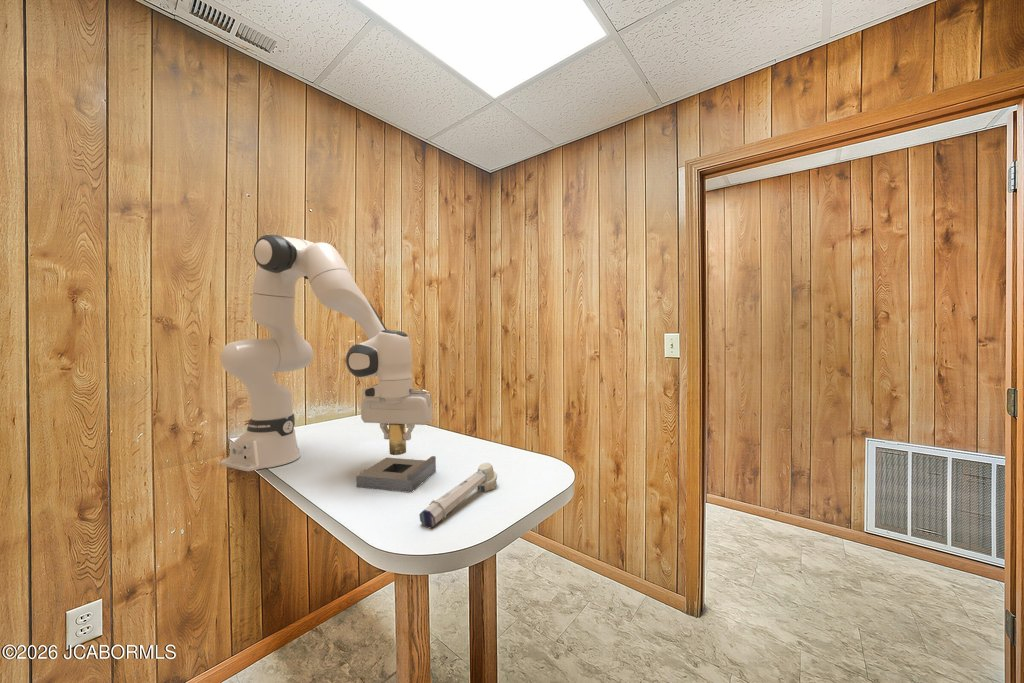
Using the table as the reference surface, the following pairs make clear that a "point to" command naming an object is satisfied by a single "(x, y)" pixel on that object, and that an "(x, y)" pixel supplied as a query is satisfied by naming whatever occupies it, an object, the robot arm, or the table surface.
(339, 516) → the table surface
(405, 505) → the table surface
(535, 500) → the table surface
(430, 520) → the beige piece
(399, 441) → the gold metallic cylinder
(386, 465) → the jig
